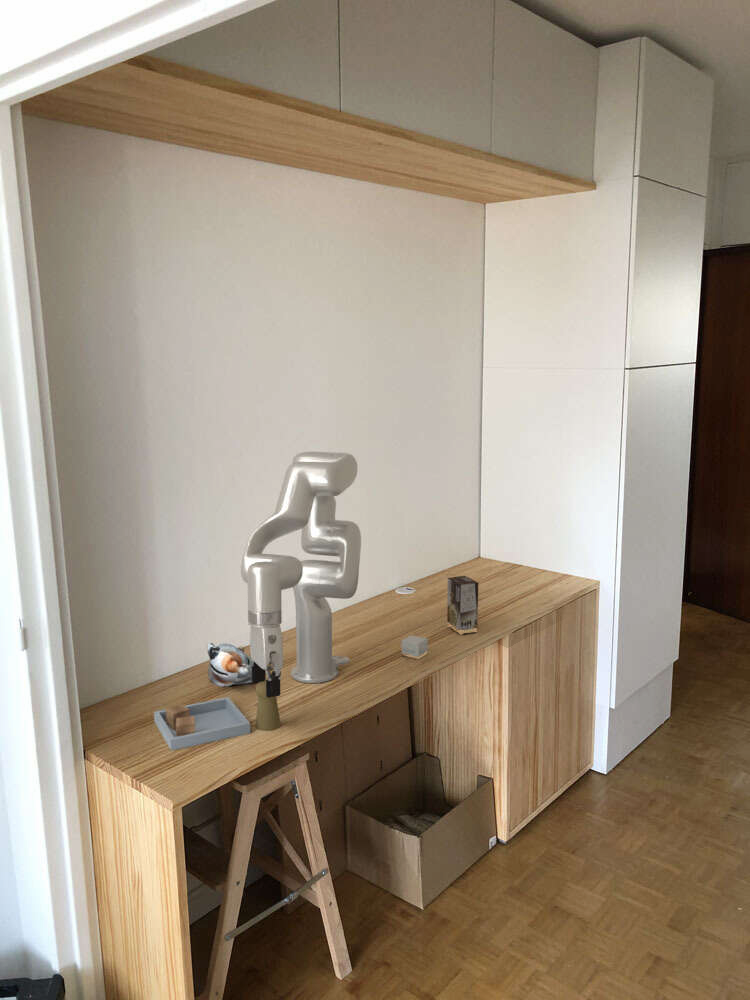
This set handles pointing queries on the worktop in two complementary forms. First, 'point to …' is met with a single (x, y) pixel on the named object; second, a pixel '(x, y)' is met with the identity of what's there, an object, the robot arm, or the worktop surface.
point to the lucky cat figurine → (228, 665)
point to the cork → (266, 710)
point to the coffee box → (462, 602)
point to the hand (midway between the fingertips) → (265, 688)
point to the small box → (414, 646)
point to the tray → (206, 724)
